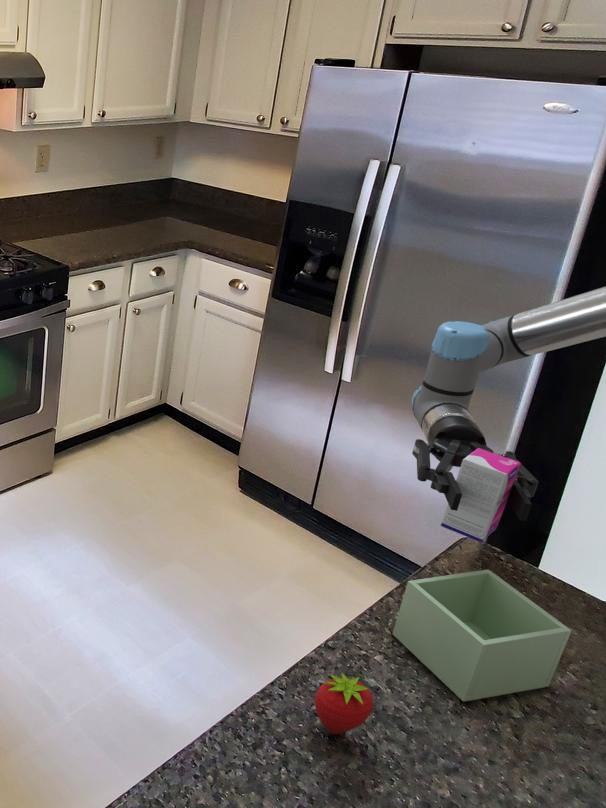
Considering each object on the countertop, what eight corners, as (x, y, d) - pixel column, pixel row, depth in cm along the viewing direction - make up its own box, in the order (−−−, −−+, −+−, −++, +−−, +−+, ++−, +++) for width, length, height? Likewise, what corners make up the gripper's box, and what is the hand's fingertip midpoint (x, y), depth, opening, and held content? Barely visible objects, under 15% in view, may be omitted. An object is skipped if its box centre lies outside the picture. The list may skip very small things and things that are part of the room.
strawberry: (375, 740, 101) (394, 680, 97) (332, 760, 98) (349, 700, 94) (337, 707, 106) (353, 649, 101) (295, 726, 103) (310, 667, 99)
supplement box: (483, 544, 113) (506, 474, 108) (439, 526, 117) (459, 458, 113) (499, 529, 116) (522, 461, 112) (455, 512, 121) (475, 446, 116)
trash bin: (470, 621, 121) (488, 569, 117) (548, 686, 109) (572, 630, 105) (392, 634, 119) (407, 580, 114) (463, 702, 106) (483, 645, 102)
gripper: (519, 465, 128) (569, 543, 109) (378, 446, 134) (401, 517, 115) (533, 424, 125) (587, 496, 105) (388, 406, 131) (414, 471, 112)
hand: (490, 507), depth 110 cm, fingers closed on supplement box, 8 cm apart
